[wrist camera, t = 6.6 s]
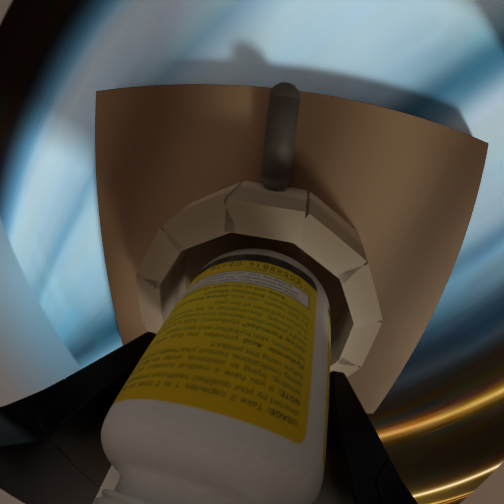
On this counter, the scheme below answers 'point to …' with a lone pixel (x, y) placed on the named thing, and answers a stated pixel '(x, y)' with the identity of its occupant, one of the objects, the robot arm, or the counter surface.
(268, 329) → the supplement bottle
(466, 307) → the counter surface
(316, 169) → the dock
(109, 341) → the counter surface
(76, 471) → the robot arm
